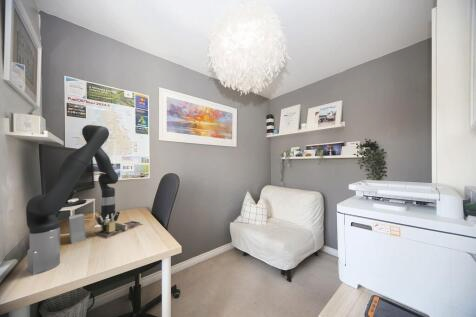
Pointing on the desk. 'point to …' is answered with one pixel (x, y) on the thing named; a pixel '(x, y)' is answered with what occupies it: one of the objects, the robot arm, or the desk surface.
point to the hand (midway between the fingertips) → (108, 229)
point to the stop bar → (109, 226)
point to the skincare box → (77, 228)
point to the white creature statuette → (98, 224)
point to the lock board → (118, 229)
